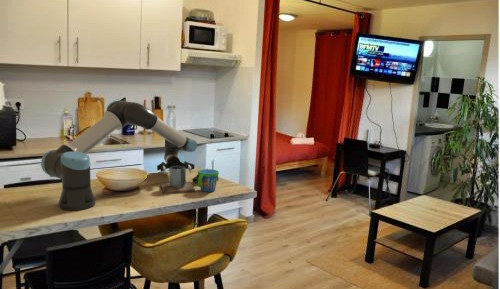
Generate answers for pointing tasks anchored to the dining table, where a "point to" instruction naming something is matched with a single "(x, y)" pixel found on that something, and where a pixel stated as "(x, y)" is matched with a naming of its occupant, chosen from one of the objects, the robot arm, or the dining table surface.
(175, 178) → the grey pen holder
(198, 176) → the black rounded lump
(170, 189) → the shaft stand
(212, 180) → the snack cup
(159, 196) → the dining table surface
